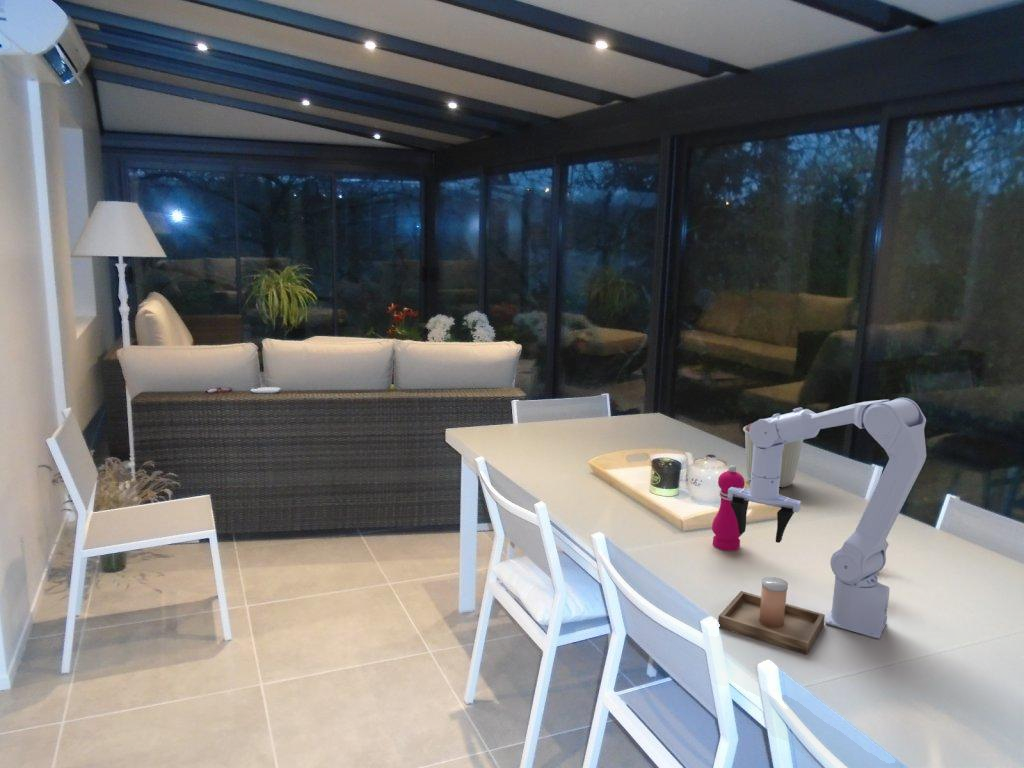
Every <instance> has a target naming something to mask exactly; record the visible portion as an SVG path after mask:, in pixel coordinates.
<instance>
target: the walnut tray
mask: <svg viewBox="0 0 1024 768" xmlns="http://www.w3.org/2000/svg"><path fill="white" fill-rule="evenodd" d="M760 604H761V595H756V594H753V593H749V592H746V591H743V590H741V591H740V592H738V593H737V594H736V596H735V597H734V598H733V599H732V600H731V602H730V603H729V604H728V605H727V606H726V607H725V608H724V610H722V611H721V613H720V614H719V615H718V620H717V623H718V622H719V624H720V627H721V628H720V627H719V628H720V629H722V630H723V629H724V630H726V629H727V631H729V630H730V632H732V631H734V632H733V633H736V632H737V633H736V634H739V635H743V636H745V637H748V638H752V639H755V640H759V641H762V642H763V643H764V642H765V643H768V644H771V645H774V646H777V647H780V648H784V649H787V650H789V651H793V652H796V653H799V654H802V655H805V656H806V655H808V653H809V652H810V650H811V649H812V646H813V645H814V644H815V643H814V642H815V641H816V640H817V638H818V636H819V634H820V633H821V631H822V629H823V627H824V625H825V620H826V614H823V613H820V612H818V611H813V610H809V609H806V608H802V607H799V606H796V605H792V604H788V603H786V605H785V616H784V625H783V626H782V627H777V628H775V627H769V626H766V625H764V624H762V623H761V622H760V621H759V616H760Z"/></svg>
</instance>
